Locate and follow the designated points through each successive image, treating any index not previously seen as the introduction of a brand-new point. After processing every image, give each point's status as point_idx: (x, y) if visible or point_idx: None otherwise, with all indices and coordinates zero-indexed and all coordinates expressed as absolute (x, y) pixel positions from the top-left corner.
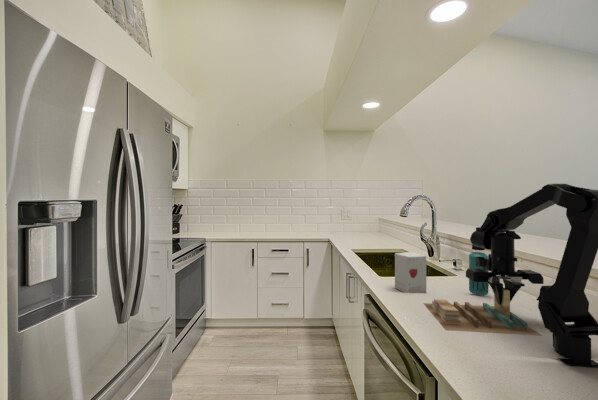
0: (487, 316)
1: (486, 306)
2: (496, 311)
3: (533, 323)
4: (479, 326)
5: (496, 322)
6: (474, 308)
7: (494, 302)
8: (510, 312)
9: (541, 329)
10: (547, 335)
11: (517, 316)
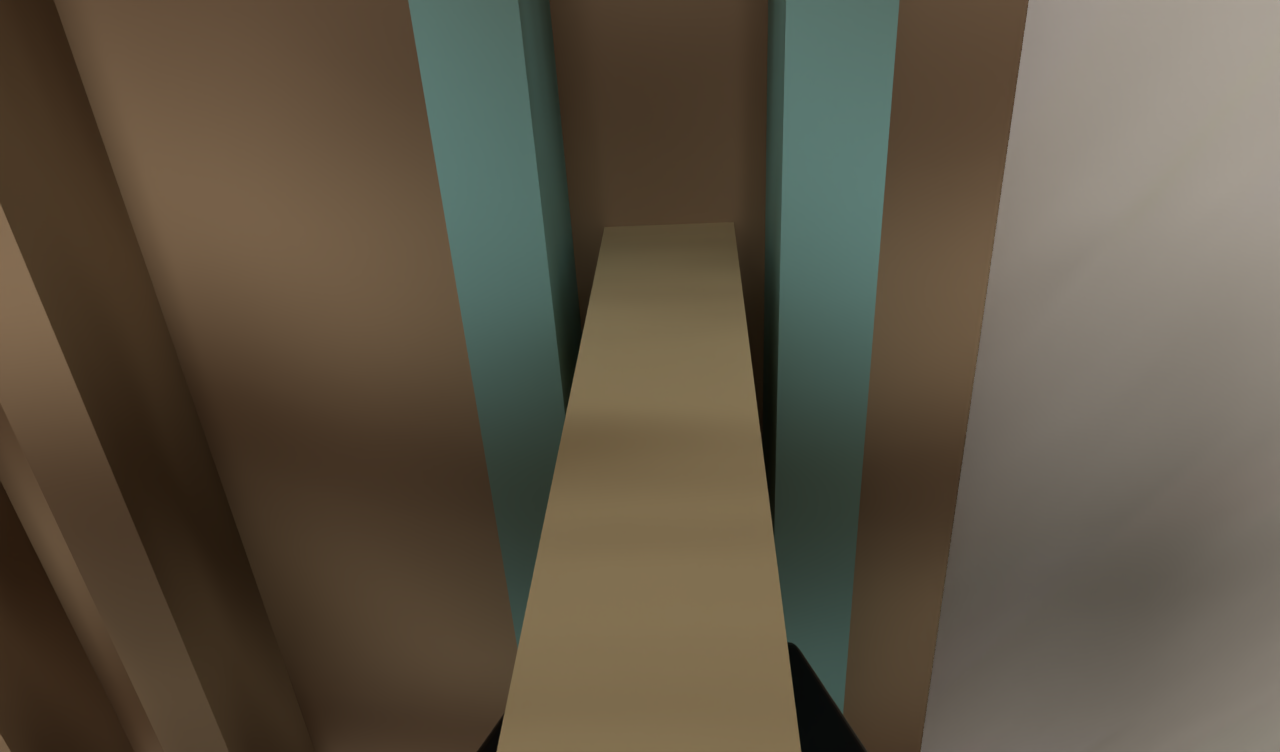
0: (390, 383)
1: (437, 122)
2: (525, 527)
3: (1243, 381)
4: (155, 745)
5: (459, 609)
6: (56, 416)
7: (574, 376)
8: (828, 540)
9: (1152, 584)
10: (1057, 731)
11: (837, 696)
